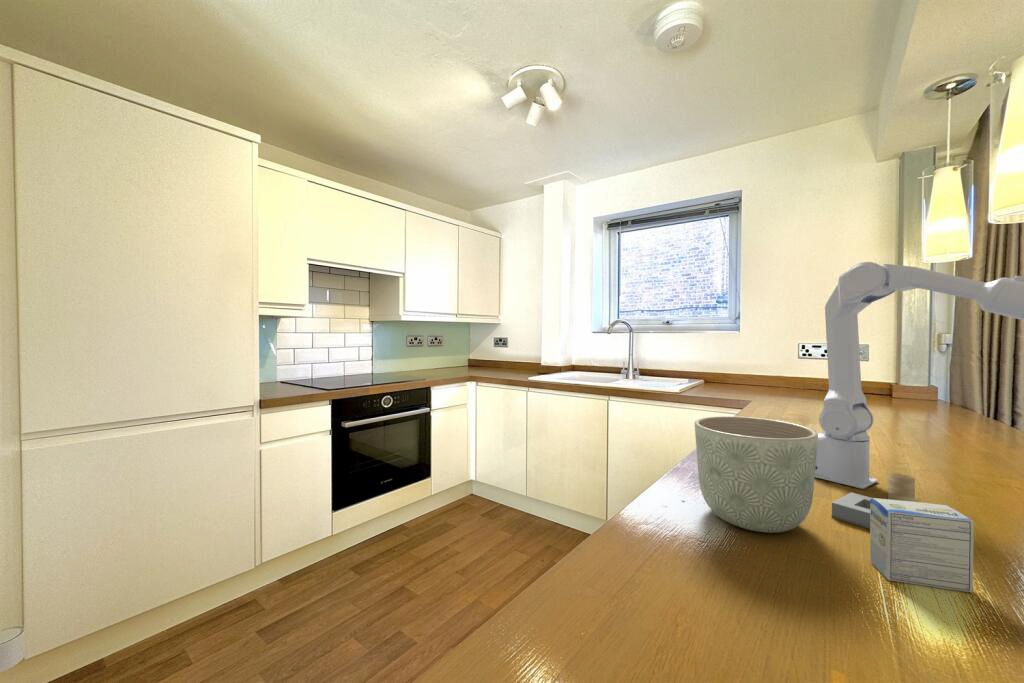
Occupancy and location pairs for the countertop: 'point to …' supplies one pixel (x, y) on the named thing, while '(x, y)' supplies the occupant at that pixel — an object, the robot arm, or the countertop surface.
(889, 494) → the maple pin
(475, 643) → the countertop surface
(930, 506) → the medicine box
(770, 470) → the planter
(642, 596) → the countertop surface
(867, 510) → the hole block
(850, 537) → the countertop surface
